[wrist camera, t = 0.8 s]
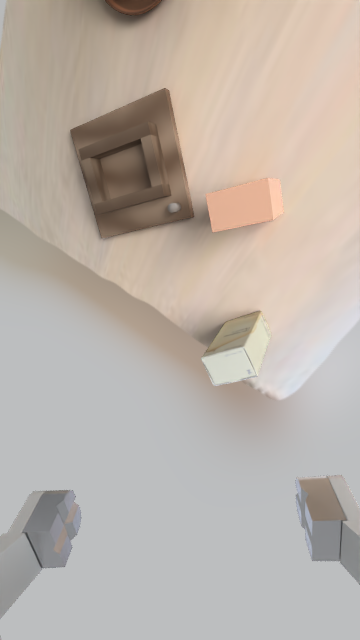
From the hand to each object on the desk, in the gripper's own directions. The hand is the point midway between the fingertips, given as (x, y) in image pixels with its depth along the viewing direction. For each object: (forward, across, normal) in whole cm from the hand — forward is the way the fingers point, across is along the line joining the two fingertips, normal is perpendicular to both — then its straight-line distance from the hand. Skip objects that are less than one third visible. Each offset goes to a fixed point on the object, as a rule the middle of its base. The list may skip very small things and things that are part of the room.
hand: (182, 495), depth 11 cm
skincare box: (+38, -7, +10) cm, 40 cm away
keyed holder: (+43, +8, -14) cm, 46 cm away
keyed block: (+37, -9, -8) cm, 39 cm away
